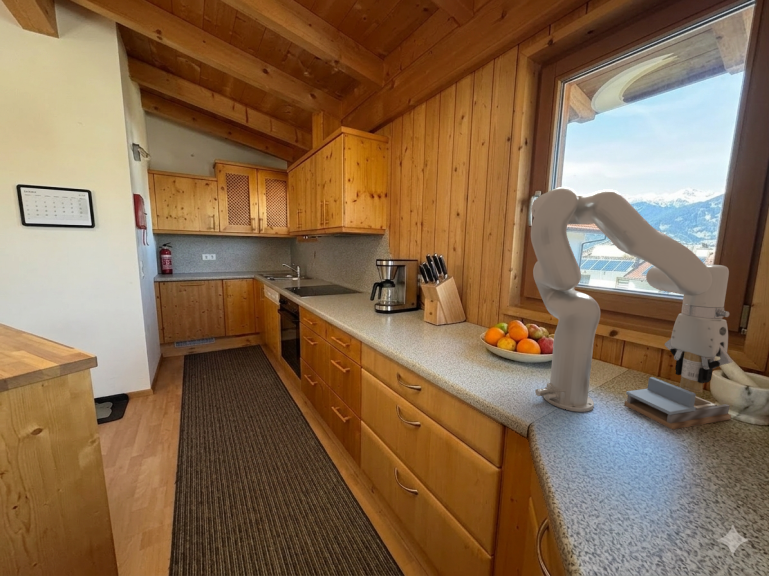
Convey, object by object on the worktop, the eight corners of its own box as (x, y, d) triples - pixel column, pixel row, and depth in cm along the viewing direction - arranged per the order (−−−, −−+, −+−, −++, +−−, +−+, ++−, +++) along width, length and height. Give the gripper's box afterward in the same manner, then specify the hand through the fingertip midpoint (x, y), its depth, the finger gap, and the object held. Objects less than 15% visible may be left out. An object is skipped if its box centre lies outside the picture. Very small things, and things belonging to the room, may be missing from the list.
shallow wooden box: (672, 429, 76) (674, 416, 75) (624, 404, 87) (625, 393, 87) (730, 419, 81) (732, 406, 80) (677, 397, 92) (679, 386, 92)
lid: (669, 414, 76) (672, 398, 75) (626, 394, 86) (627, 379, 86) (695, 410, 78) (697, 394, 77) (649, 390, 88) (651, 376, 88)
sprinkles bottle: (704, 390, 83) (711, 342, 82) (699, 394, 81) (707, 345, 79) (681, 384, 87) (687, 337, 85) (676, 388, 85) (682, 340, 83)
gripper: (756, 318, 74) (743, 390, 76) (675, 305, 90) (667, 365, 93) (734, 320, 72) (722, 394, 75) (655, 306, 88) (648, 367, 91)
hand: (691, 377), depth 84 cm, fingers closed on sprinkles bottle, 4 cm apart
